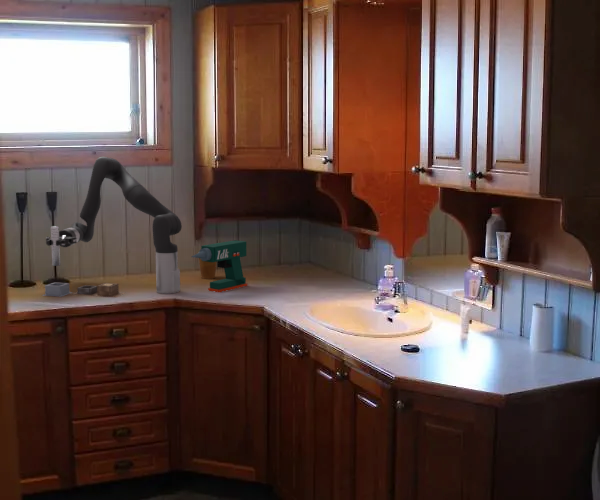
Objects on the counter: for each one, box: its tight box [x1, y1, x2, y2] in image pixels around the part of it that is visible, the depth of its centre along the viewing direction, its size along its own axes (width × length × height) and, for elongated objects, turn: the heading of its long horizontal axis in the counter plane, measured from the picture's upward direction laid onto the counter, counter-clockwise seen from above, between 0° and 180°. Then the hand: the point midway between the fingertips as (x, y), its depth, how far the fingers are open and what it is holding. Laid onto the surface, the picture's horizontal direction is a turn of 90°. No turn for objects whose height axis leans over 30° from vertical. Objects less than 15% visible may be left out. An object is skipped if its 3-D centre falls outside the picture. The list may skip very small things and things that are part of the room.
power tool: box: [191, 240, 248, 293], centre depth 350 cm, size 32×7×20 cm, turn 143°
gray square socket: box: [41, 282, 74, 298], centre depth 338 cm, size 9×9×5 cm
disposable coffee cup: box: [198, 258, 217, 280], centre depth 380 cm, size 10×10×12 cm
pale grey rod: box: [50, 225, 61, 267], centre depth 335 cm, size 3×3×16 cm
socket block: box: [70, 282, 126, 298], centre depth 339 cm, size 21×9×5 cm, turn 75°
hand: (52, 243), depth 332 cm, fingers closed on pale grey rod, 3 cm apart
